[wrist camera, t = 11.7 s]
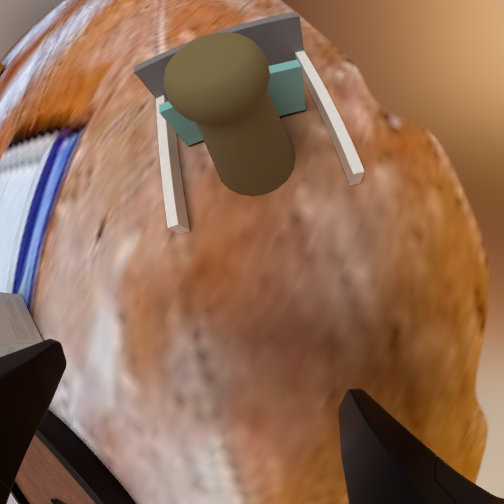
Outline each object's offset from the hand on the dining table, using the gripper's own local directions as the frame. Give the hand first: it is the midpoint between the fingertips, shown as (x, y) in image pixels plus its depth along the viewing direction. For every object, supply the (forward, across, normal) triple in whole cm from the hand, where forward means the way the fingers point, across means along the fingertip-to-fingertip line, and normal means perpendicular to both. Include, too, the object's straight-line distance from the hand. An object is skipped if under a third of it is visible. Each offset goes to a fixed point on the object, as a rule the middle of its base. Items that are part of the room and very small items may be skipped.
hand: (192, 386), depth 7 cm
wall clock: (+2, +20, +34) cm, 40 cm away
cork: (+16, -1, -6) cm, 17 cm away
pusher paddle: (+18, +1, -9) cm, 20 cm away
